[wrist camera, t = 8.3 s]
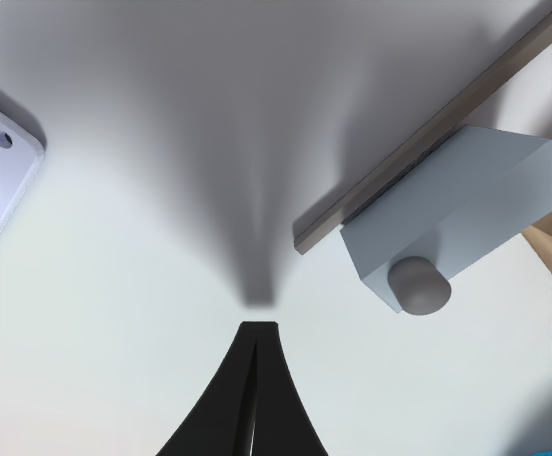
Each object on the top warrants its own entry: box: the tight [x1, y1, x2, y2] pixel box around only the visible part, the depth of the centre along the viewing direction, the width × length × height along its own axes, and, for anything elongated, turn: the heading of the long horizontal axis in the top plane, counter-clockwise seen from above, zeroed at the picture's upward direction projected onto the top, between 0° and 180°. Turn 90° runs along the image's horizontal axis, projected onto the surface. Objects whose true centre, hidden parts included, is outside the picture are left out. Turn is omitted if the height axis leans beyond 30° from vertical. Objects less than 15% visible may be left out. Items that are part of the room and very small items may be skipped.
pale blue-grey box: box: [340, 124, 552, 315], centre depth 8 cm, size 2×5×4 cm, turn 136°
